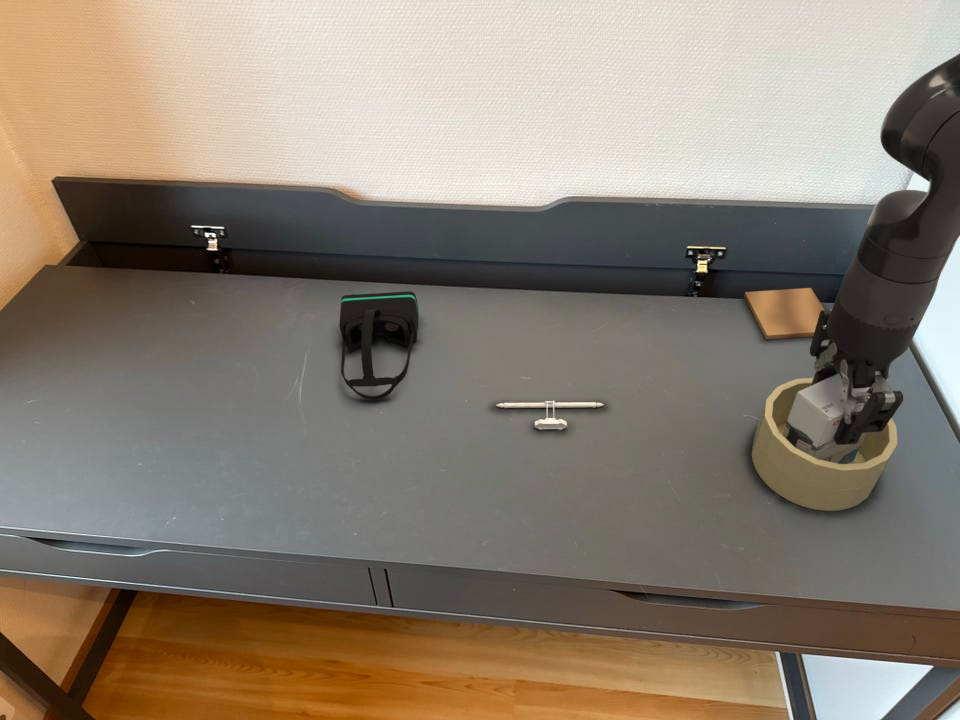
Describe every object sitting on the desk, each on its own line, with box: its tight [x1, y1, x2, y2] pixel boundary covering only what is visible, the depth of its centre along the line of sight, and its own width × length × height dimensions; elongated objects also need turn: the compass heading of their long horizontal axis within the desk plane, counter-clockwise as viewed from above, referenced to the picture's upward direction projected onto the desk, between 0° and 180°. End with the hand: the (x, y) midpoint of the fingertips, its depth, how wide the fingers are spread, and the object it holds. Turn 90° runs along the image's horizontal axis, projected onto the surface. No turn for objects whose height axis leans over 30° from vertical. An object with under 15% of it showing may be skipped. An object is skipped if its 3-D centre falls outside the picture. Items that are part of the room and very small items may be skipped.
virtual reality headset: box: [338, 290, 420, 401], centre depth 97 cm, size 11×17×10 cm, turn 2°
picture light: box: [495, 399, 604, 431], centre depth 90 cm, size 14×4×2 cm, turn 88°
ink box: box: [782, 373, 869, 464], centre depth 79 cm, size 8×5×12 cm, turn 116°
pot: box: [751, 377, 899, 512], centre depth 81 cm, size 14×14×8 cm
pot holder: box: [743, 287, 826, 340], centre depth 103 cm, size 10×10×1 cm
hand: (830, 417), depth 78 cm, fingers closed on ink box, 6 cm apart
